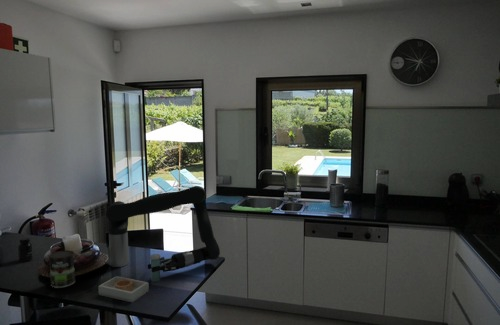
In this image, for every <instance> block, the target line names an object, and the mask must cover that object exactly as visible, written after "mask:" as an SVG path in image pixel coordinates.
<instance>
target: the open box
mask: <svg viewBox="0 0 500 325" xmlns="http://www.w3.org/2000/svg"><path fill="white" fill-rule="evenodd" d="M149 287H150V286H149V282H148V281H144V280H143V281H142V280H137V279H133V278H128V277H123V276H120V275H119V276H118V275H116V276H114V277H113V278H111V279H109V280H107V281H105V282H103V283H101V284H99V285H98V295H99V296H103V297H106V298H112V299H115V300H121V301H125V302H129V303H134V302H135V301H137V300H138V299H140V298H141V297H142V296H144V295H146V292H147V293H148V292H149V291H150V288H149Z"/></svg>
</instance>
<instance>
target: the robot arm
mask: <svg viewBox="0 0 500 325" xmlns="http://www.w3.org/2000/svg"><path fill="white" fill-rule="evenodd" d="M206 198H207V193H206V190H205V189H204V188H203V187H202V186H199V185H195V186H192V187H187V188H186V189H182V190H179V191H169V192H163V193H162V192H161V193H156V194H152V195H148V196H145V197H143V198H140V199H138V200H134V201H131V202H126V203H125V202H123V201H119V200H117V201H114V202H112V204H110V205H109V206H107V209H106V211H105V216H106V218H107V219H108V220H109V226H108V241H109V244H108V245H109V246H108V247H107V256H108V257H107V258H108V259H107V260H108V265H110V266H111V267H112V268H120V267H125V266H127V265H128V264H129V237H128V236H129V235H128V233H129V232H128V227H129V218H132V217H135V216H142V215H149V214H155V213H160V212H164V211H168V210H172V209H173V208H176V207H179V206H184V205H190V204H191V205H193V208H194V210H195V217H196V221H197V230H198V232H199V237H200V241H201V242H202V243H203V244H204V246H202V247H200V248H198V249H197V248H196V249H192V250H187V251H182V252H177V253H173V254H172V255H171V257H169V258H165V256H162V257H160V266H155V267H152V268H151V263H149V264H147V269H148V270H150V272H151V271H152V272H156V271H160V272H162V273H165V272H166V273H167V272H173V271H176V270H180V269H183V268H188V267H190V266H192V265H196V264H197V265H198V264H200V263H202V262H203V261H209V260H211V261H212V260H213V261H214V260H217V259H218V258H220V255H221V254H220V253H221V251H220V247H219V244H218V242H217V239H216V237H215V236H214V231H213V227H212V224H211V220H210V216H209V213H208V209H207V208H208V207H207V199H206Z"/></svg>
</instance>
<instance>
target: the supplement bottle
mask: <svg viewBox="0 0 500 325" xmlns="http://www.w3.org/2000/svg"><path fill="white" fill-rule="evenodd" d="M17 255H18V256H17V257H18V262H19V263H29V262H31V261H33V259H34V251H33V243H32V242H31V237H22V238H20V239H19V244H18V245H17Z"/></svg>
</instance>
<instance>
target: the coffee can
mask: <svg viewBox="0 0 500 325" xmlns="http://www.w3.org/2000/svg"><path fill="white" fill-rule="evenodd" d="M48 258H49V275H50V287H51V286H52V288H53V287H54V288H53V289H62V288H67V287H70V286H72V285H73V284H75V283H76V271H75V268H74V259H75V252H74V251H73V250H59V251H54V252H52V253H51V254H49V256H48Z"/></svg>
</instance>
